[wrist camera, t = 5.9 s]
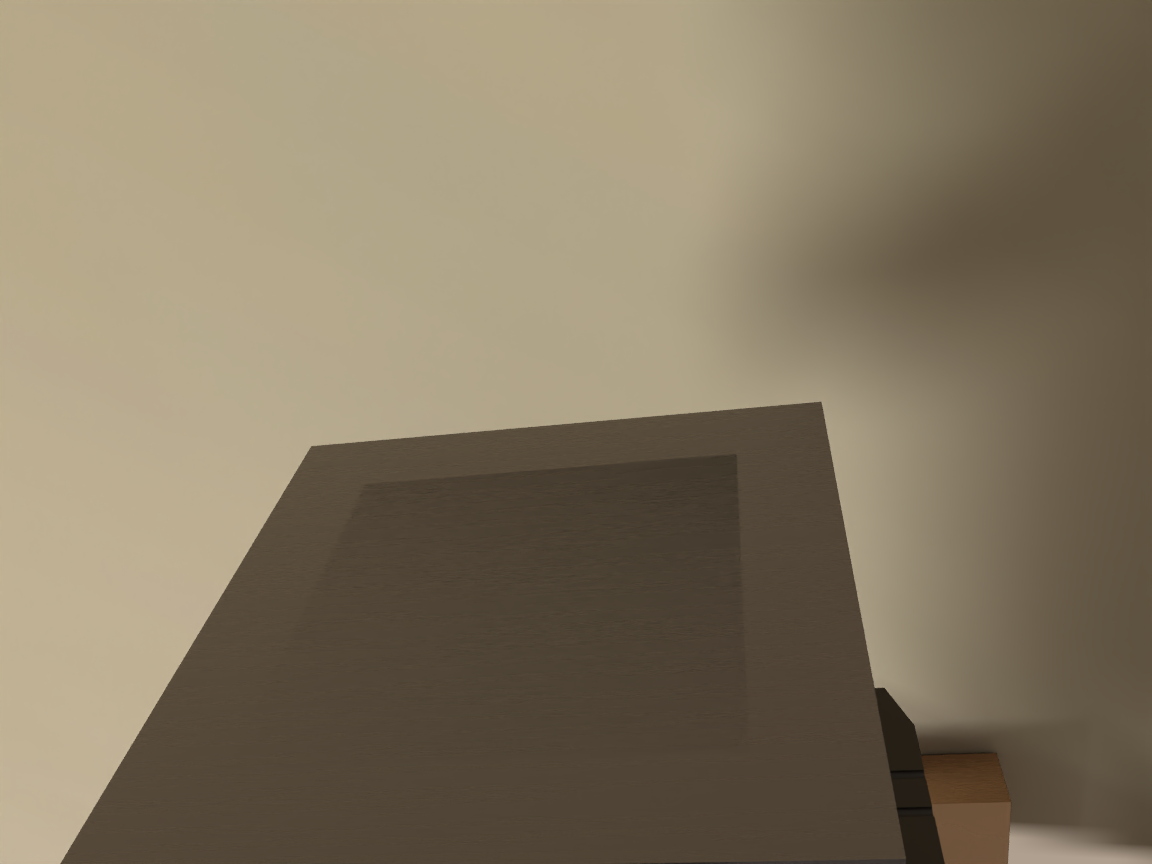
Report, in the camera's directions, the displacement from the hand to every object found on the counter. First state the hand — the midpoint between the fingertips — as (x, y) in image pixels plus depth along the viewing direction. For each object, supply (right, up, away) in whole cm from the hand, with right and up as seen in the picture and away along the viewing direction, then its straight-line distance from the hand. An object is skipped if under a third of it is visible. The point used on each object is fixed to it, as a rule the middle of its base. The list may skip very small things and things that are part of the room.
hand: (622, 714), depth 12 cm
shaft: (+1, -7, +3) cm, 8 cm away
